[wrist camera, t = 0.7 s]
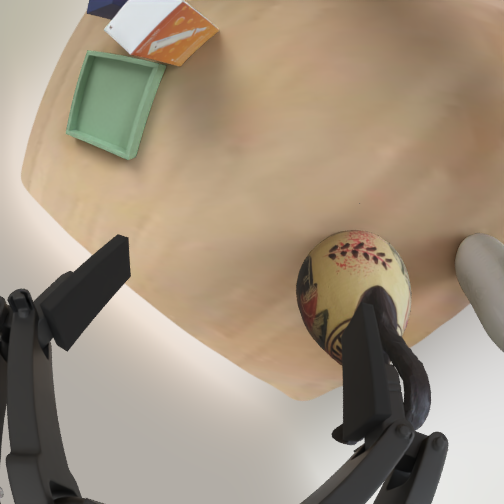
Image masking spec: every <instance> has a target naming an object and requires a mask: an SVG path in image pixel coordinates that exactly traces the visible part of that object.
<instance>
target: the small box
mask: <svg viewBox="0 0 504 504" xmlns="http://www.w3.org/2000/svg"><path fill="white" fill-rule="evenodd" d="M104 31H105V32H107V33H108V34H109V35H110V36H111V37H112V38H113V39H114V40H115V41H117V42H118V43H119V44H120V45H121V46H122V47H123V48H124V49H125V50H126V51H127V52H128V53H129V54H130V55H134V56H139V57H143V58H147V59H152V60H156V61H160V62H164V63H168V64H172V65H175V66H179V67H180V66H181V65H182V64H183V63H184V62H185V61H186V60H187V59H188V58H189V57H190V56H191V55H192V54H193V53H194V52H195V51H196V50H197V49H198V48H199V47H201V46H202V45H203V44H204V43H205V42H206V41H207V40H209V39H210V38H211V37H212V36H213V35H215V34H216V33H217V32H218V31H219V29H218V28H217V27H216V26H215V25H214V24H213V23H211V22H210V21H209V20H208V19H207V18H205V17H204V16H203V15H202V14H201V13H199V12H198V11H197V10H196V9H194V8H193V7H192V6H190V5H189V4H188V3H186V2H185V1H184V0H128V1H127V2H126V3H125V5H124V6H123V7H122V8H121V9H120V11H119V12H118V13H117V14H116V15H115V17H114V18H113V19H112V20H111V21H110V23H109V24H108V25H107V26H106V27H105V29H104Z"/></svg>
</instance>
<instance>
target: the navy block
mask: <svg viewBox="0 0 504 504" xmlns="http://www.w3.org/2000/svg"><path fill="white" fill-rule="evenodd" d="M127 1H128V0H89V4H88V9H87V14H91V15H95V16H99V17H103V18H107V19H111V20H112V19H113V18H114V17H115V15H116V14H117V13H118V12H119V11H120V9H121V8H122V7H123V6H124V5H125V3H126V2H127Z"/></svg>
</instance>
